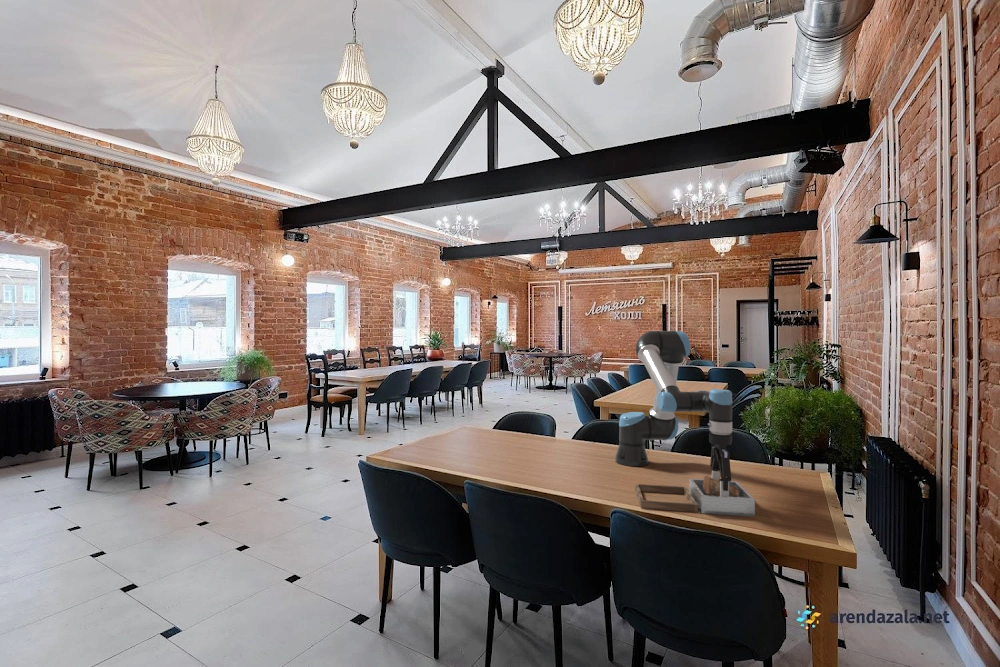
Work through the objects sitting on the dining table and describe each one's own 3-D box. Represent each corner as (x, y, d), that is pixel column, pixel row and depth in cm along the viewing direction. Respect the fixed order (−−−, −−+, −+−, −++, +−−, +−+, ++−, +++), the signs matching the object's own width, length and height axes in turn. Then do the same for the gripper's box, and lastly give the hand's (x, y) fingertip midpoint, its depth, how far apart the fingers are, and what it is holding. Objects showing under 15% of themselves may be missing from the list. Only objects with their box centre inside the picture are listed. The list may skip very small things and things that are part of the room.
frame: (635, 490, 185) (635, 483, 185) (686, 493, 182) (686, 486, 182) (641, 508, 166) (641, 501, 166) (697, 511, 163) (697, 504, 163)
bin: (689, 494, 181) (689, 478, 181) (736, 497, 178) (736, 481, 178) (701, 513, 162) (701, 495, 162) (754, 516, 159) (754, 499, 159)
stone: (711, 501, 175) (733, 485, 174) (724, 516, 165) (748, 499, 164) (694, 480, 174) (716, 464, 173) (707, 493, 164) (730, 476, 163)
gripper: (701, 425, 181) (701, 483, 182) (718, 439, 159) (717, 504, 159) (722, 426, 180) (721, 484, 180) (742, 440, 158) (741, 506, 158)
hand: (720, 493), depth 170 cm, fingers closed on stone, 10 cm apart
